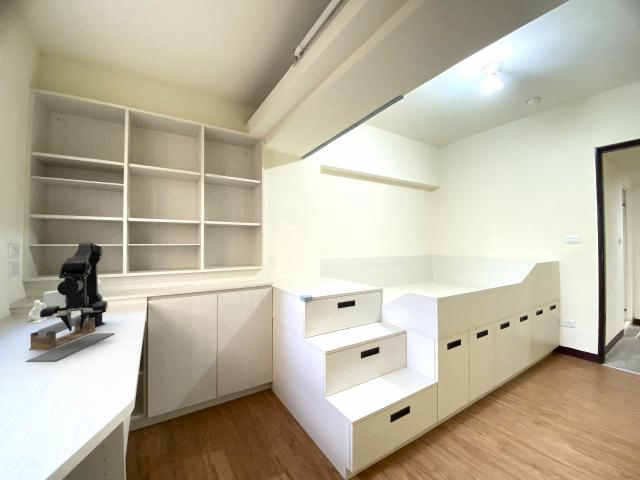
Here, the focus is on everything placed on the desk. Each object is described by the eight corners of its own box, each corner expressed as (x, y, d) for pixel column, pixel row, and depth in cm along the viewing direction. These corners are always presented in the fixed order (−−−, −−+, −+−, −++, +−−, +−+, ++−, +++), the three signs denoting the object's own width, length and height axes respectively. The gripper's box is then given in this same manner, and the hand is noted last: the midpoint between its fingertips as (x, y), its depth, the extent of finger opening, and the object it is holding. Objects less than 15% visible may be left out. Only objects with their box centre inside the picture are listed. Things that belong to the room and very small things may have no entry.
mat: (114, 334, 113) (114, 333, 113) (56, 361, 87) (56, 360, 87) (91, 334, 113) (91, 333, 113) (26, 362, 87) (26, 360, 87)
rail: (81, 320, 117) (81, 314, 117) (88, 320, 118) (88, 313, 118) (38, 337, 96) (38, 330, 96) (46, 337, 97) (46, 329, 97)
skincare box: (66, 314, 145) (66, 289, 145) (65, 317, 140) (65, 290, 140) (45, 317, 139) (45, 291, 140) (43, 320, 135) (43, 292, 135)
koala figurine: (45, 323, 130) (45, 300, 130) (25, 326, 125) (25, 302, 126) (48, 319, 136) (48, 297, 136) (30, 322, 132) (30, 299, 132)
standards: (80, 331, 117) (80, 317, 118) (95, 330, 118) (95, 317, 118) (28, 351, 96) (28, 334, 96) (48, 350, 96) (48, 333, 96)
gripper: (109, 285, 112) (109, 320, 112) (50, 290, 102) (50, 328, 102) (105, 289, 102) (105, 327, 102) (39, 295, 93) (39, 337, 92)
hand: (76, 330), depth 100 cm, fingers open, 3 cm apart
